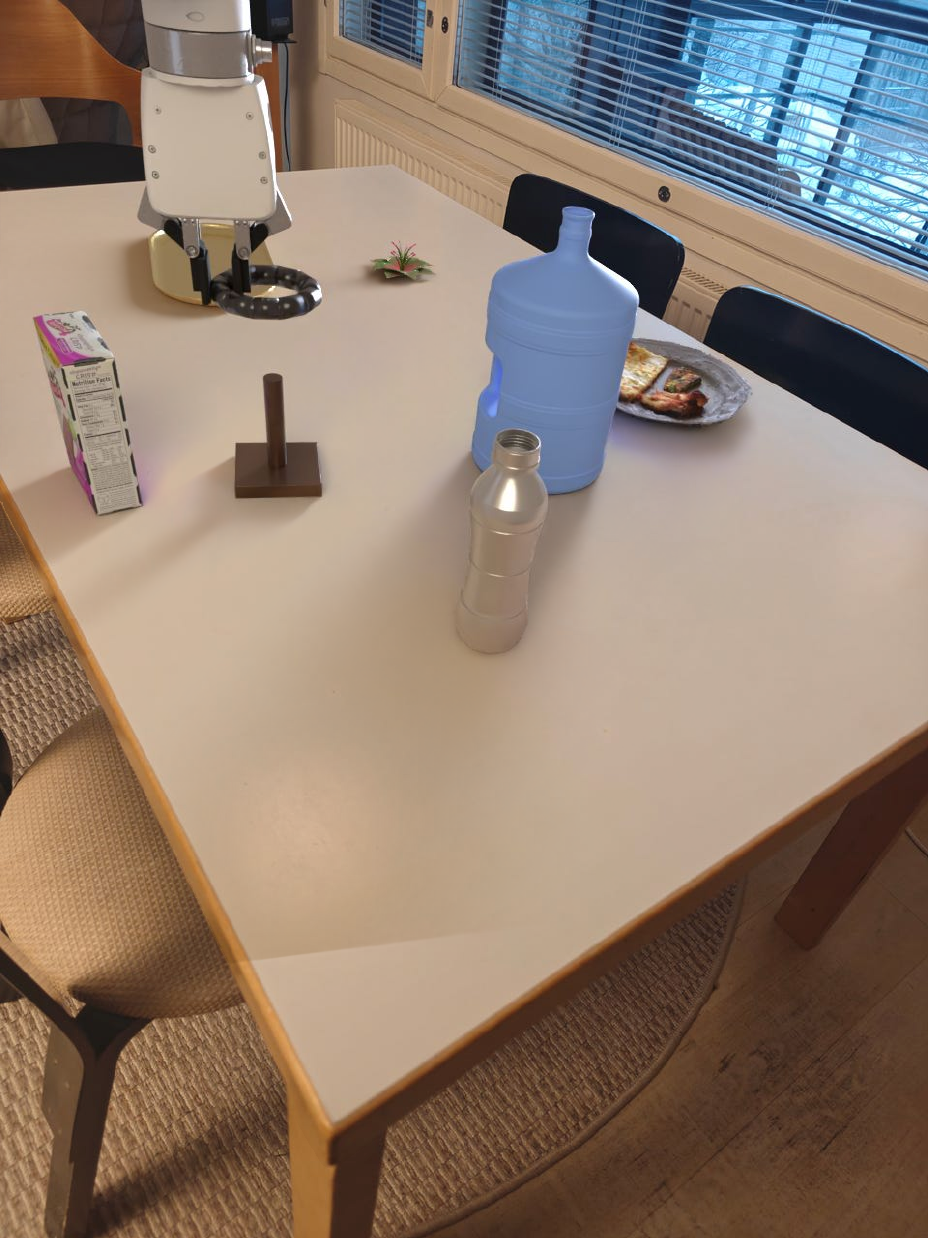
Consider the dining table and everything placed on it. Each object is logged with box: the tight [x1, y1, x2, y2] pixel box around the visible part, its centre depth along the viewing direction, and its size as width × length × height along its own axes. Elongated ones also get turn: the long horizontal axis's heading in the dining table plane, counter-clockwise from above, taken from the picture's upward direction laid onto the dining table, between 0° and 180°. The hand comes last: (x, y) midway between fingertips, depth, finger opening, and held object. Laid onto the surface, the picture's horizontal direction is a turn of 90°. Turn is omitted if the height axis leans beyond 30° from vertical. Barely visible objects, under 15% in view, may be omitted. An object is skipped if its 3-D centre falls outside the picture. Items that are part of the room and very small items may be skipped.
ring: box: [210, 264, 323, 321], centre depth 76 cm, size 10×10×2 cm
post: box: [233, 372, 323, 499], centre depth 91 cm, size 9×9×12 cm
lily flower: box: [369, 240, 437, 281], centre depth 144 cm, size 12×12×5 cm
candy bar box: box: [32, 310, 144, 517], centre depth 85 cm, size 11×5×16 cm, turn 32°
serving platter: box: [148, 222, 277, 307], centre depth 138 cm, size 19×35×2 cm, turn 17°
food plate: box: [615, 337, 753, 429], centre depth 118 cm, size 25×23×4 cm
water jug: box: [470, 206, 640, 495], centre depth 93 cm, size 16×16×28 cm
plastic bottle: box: [454, 429, 550, 654], centre depth 71 cm, size 6×7×20 cm
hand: (223, 298), depth 76 cm, fingers closed on ring, 2 cm apart
